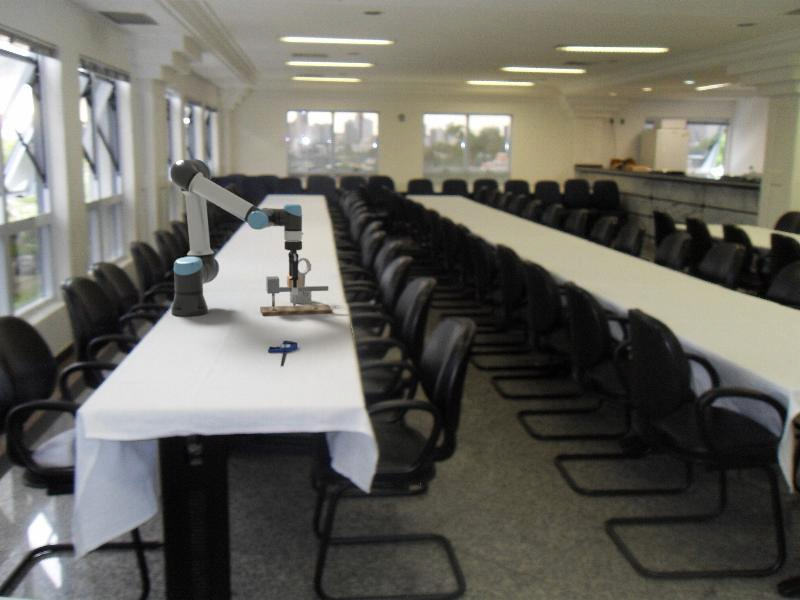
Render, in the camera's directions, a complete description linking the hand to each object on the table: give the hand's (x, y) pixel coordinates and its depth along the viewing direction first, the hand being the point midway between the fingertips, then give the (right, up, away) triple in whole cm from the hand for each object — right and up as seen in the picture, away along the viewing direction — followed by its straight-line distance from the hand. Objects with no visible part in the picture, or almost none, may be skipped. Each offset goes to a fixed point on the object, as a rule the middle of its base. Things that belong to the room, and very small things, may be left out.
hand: (293, 293), depth 346 cm
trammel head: (0, -6, +1) cm, 6 cm away
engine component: (0, -4, +25) cm, 25 cm away
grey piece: (+2, -7, +2) cm, 7 cm away
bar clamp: (+6, -23, -74) cm, 77 cm away
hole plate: (+1, -8, +2) cm, 8 cm away
